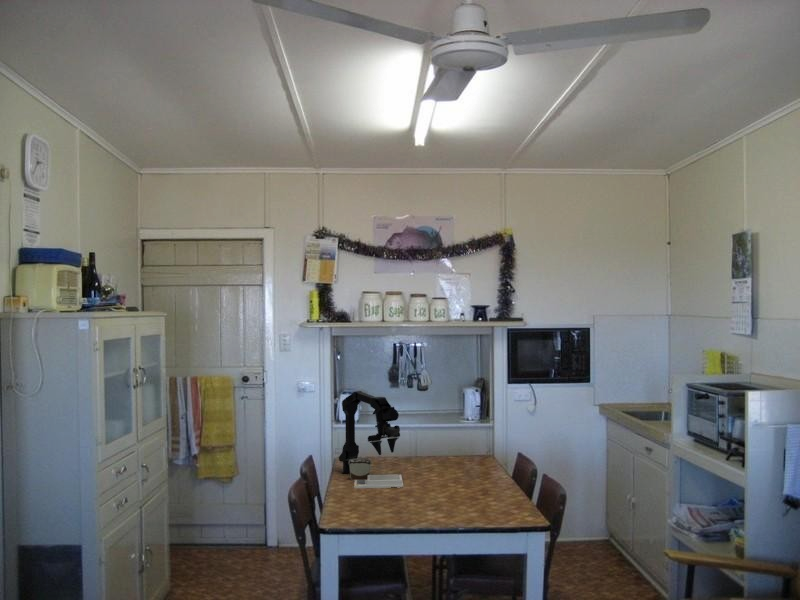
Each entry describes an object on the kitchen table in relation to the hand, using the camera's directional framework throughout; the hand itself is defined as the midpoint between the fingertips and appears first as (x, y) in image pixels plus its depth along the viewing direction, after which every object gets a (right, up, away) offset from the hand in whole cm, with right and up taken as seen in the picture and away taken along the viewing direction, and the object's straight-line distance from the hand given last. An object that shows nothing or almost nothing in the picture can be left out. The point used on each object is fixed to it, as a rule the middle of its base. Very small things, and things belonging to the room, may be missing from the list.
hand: (386, 453), depth 322 cm
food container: (-13, -16, +10) cm, 23 cm away
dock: (-4, -15, -1) cm, 16 cm away
